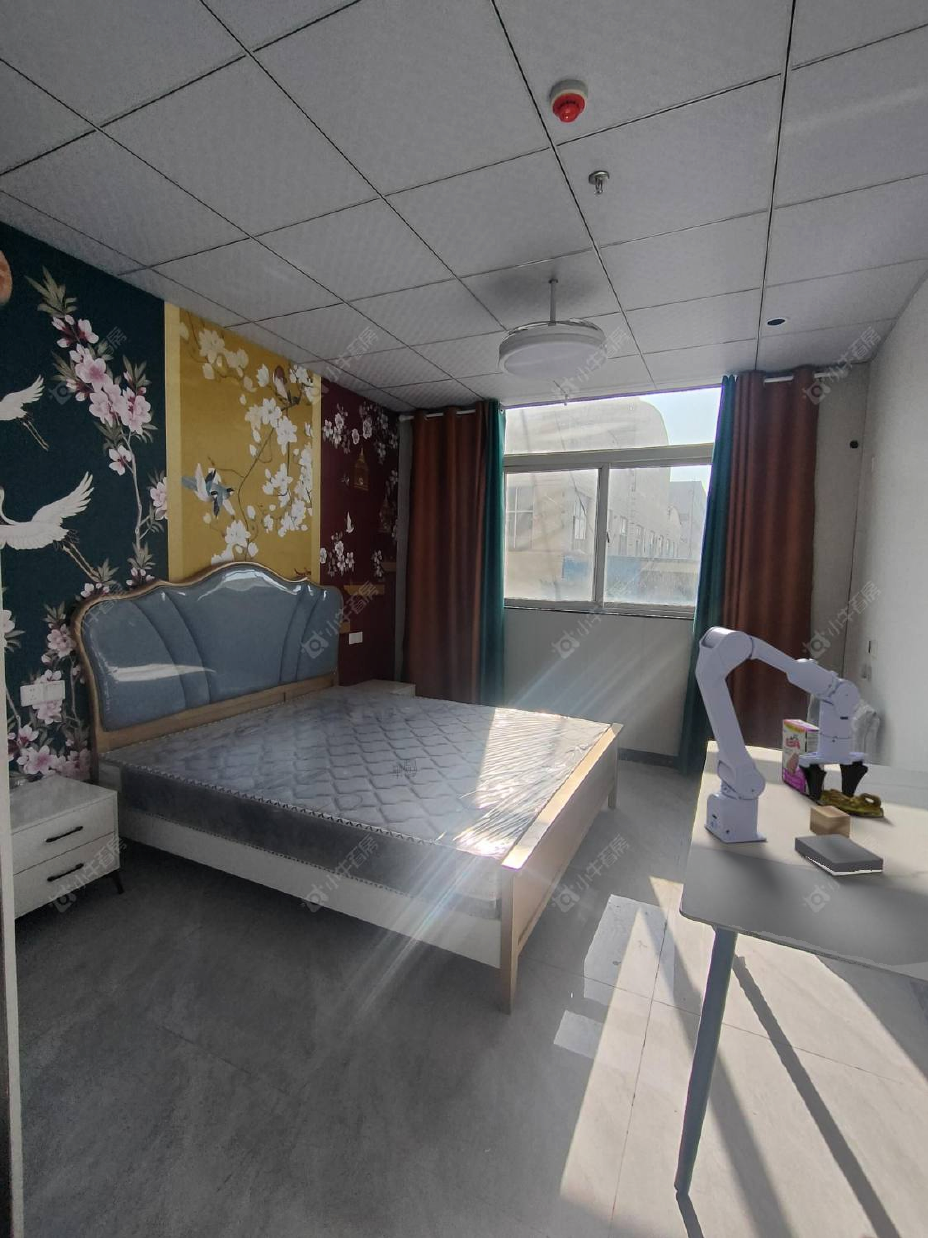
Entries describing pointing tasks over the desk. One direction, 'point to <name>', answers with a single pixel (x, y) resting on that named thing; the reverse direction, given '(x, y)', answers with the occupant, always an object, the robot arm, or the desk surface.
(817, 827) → the oak cube
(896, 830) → the desk surface
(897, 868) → the desk surface
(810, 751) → the candy bar box
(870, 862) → the charcoal plinth
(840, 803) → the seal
